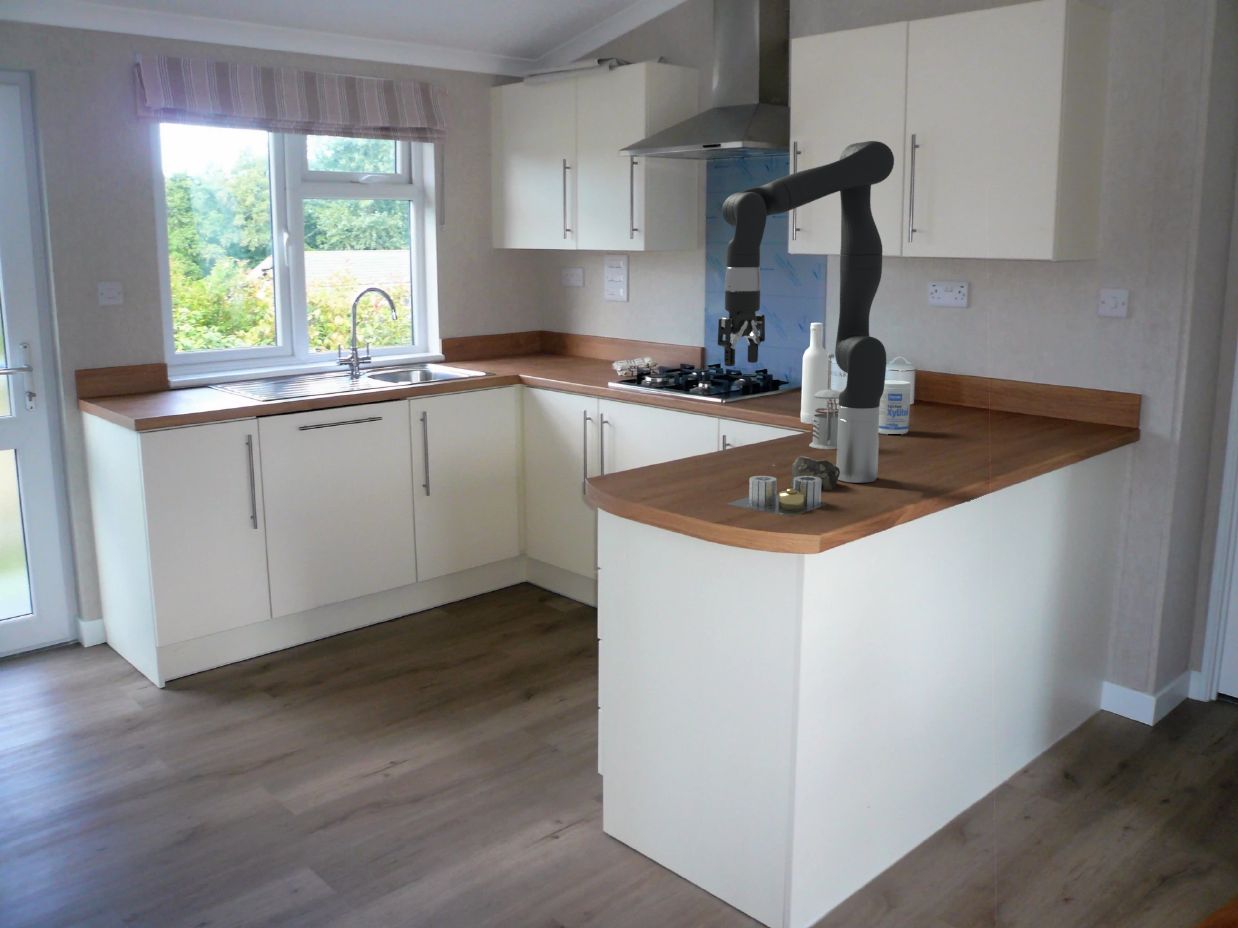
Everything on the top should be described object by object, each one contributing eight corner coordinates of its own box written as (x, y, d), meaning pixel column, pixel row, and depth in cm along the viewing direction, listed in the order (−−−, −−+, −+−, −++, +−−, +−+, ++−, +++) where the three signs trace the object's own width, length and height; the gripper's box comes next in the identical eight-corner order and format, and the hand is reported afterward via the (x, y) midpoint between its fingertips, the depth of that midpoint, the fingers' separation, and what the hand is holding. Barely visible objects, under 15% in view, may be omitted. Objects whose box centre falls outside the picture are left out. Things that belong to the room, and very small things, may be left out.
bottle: (811, 419, 333) (815, 321, 327) (832, 422, 327) (835, 323, 321) (794, 422, 328) (797, 323, 322) (815, 425, 322) (818, 324, 316)
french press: (843, 442, 295) (847, 351, 290) (848, 450, 284) (852, 355, 279) (807, 442, 296) (810, 351, 291) (810, 450, 285) (813, 355, 280)
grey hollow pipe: (797, 498, 227) (798, 475, 226) (823, 500, 225) (824, 477, 224) (789, 503, 222) (790, 480, 221) (815, 506, 220) (816, 482, 219)
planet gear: (758, 497, 228) (759, 474, 226) (780, 501, 224) (781, 478, 223) (743, 502, 223) (744, 479, 222) (766, 506, 220) (766, 482, 219)
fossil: (834, 482, 245) (840, 447, 239) (839, 509, 238) (846, 474, 232) (786, 480, 245) (791, 446, 239) (790, 507, 238) (795, 473, 232)
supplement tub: (889, 436, 304) (892, 384, 301) (867, 431, 312) (869, 380, 309) (915, 433, 308) (918, 382, 305) (892, 428, 316) (895, 378, 313)
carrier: (763, 497, 233) (764, 474, 232) (828, 509, 223) (829, 485, 222) (725, 509, 223) (725, 485, 222) (791, 522, 212) (792, 497, 211)
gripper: (747, 287, 238) (745, 360, 242) (708, 289, 228) (707, 366, 231) (776, 287, 233) (774, 362, 237) (737, 290, 223) (736, 368, 226)
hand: (741, 364), depth 234 cm, fingers open, 8 cm apart
